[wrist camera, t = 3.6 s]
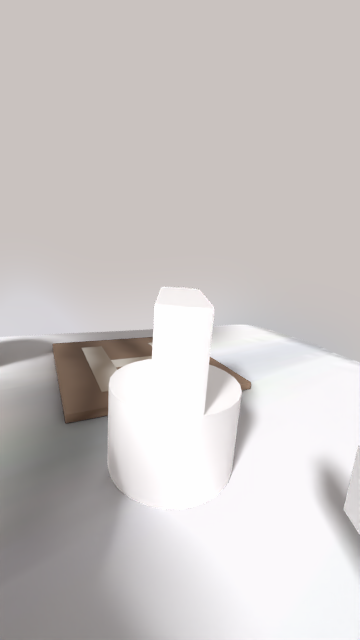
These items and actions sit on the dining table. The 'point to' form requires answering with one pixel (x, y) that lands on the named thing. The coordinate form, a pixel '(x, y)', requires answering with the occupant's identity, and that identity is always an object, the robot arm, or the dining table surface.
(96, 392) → the letter board
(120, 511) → the dining table surface
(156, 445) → the base with upright slab
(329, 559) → the dining table surface
